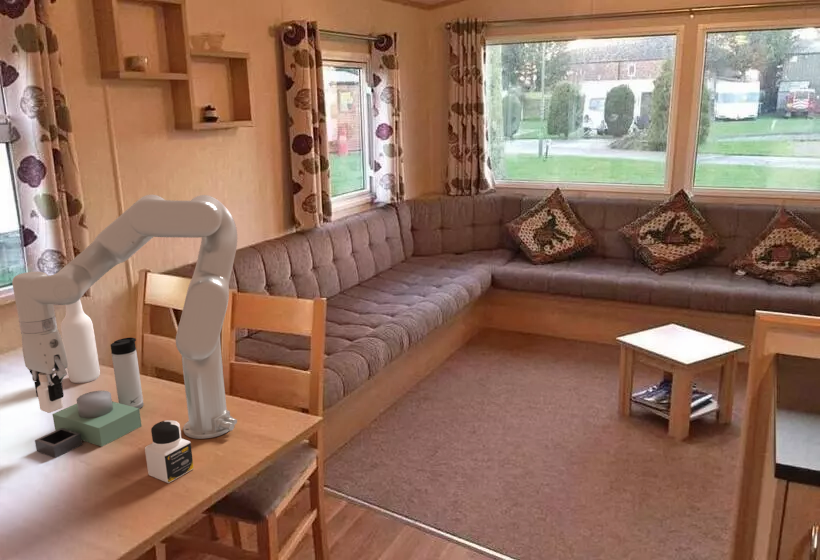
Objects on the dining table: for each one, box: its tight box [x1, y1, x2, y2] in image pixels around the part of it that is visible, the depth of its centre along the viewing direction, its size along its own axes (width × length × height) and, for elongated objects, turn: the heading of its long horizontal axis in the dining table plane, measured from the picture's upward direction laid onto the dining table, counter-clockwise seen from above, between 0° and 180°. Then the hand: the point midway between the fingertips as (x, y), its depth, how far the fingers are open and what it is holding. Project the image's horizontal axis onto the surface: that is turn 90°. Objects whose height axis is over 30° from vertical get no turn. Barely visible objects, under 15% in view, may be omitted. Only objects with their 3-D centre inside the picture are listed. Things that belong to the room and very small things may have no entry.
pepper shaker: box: [37, 372, 64, 414], centre depth 158 cm, size 4×4×10 cm
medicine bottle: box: [144, 419, 194, 484], centre depth 148 cm, size 7×7×12 cm
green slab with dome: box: [52, 390, 143, 448], centre depth 170 cm, size 18×12×9 cm, turn 62°
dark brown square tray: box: [34, 428, 83, 459], centre depth 161 cm, size 7×7×3 cm
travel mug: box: [110, 337, 144, 410], centre depth 181 cm, size 6×7×20 cm
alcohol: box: [60, 298, 101, 384], centre depth 201 cm, size 9×9×30 cm
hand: (50, 396), depth 158 cm, fingers closed on pepper shaker, 4 cm apart
